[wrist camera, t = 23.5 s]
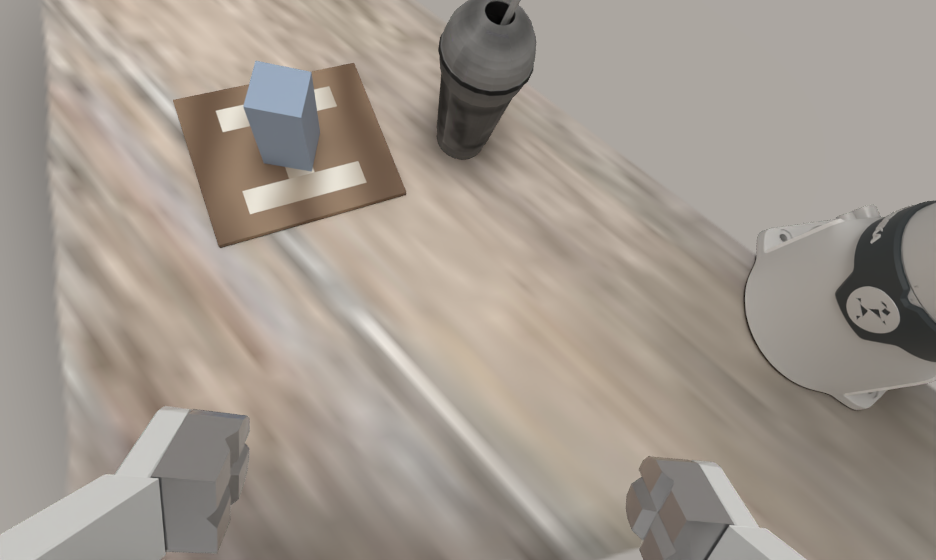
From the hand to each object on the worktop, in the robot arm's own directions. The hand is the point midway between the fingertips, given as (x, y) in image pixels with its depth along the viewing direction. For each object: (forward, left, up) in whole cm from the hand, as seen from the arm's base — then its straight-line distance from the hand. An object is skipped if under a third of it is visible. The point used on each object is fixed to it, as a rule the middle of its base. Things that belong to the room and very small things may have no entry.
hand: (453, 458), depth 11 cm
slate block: (-1, -26, -31) cm, 41 cm away
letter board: (-1, -26, -31) cm, 41 cm away
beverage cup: (-16, -23, -32) cm, 42 cm away
